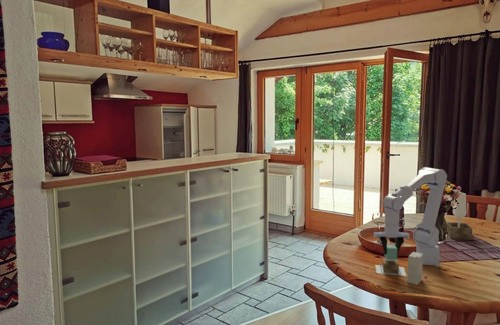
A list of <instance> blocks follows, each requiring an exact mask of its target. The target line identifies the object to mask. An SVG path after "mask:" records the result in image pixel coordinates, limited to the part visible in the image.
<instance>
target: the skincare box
mask: <svg viewBox="0 0 500 325" xmlns="http://www.w3.org/2000/svg"><path fill="white" fill-rule="evenodd" d="M407 260H408V261H407V273H406V283H409V284H413V285H416V286H418V285H419V283H421V282H422V280H423V279H422V278H423V267H424V266H423V254H422V253H417V252H415V251H412V252H411V253H410V254H409V255H408V259H407Z"/></svg>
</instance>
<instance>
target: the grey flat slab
mask: <svg viewBox="0 0 500 325" xmlns="http://www.w3.org/2000/svg"><path fill="white" fill-rule="evenodd" d="M374 266H375V272H376V274H379V275H380V274H381V275H384V274H385V275H393V276H404V277H407V273H406V269H405V267H403V266H399V274H397V273H386V272H384V271H383V264H382V265H381V264H375V265H374Z"/></svg>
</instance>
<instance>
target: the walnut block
mask: <svg viewBox="0 0 500 325" xmlns="http://www.w3.org/2000/svg"><path fill="white" fill-rule="evenodd" d="M382 265H383V271H384V272H386V273H397V274H399V267H400V266H399V265H400V264H399V260H398V259H397V260H390V259H386V257H383V258H382Z"/></svg>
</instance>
